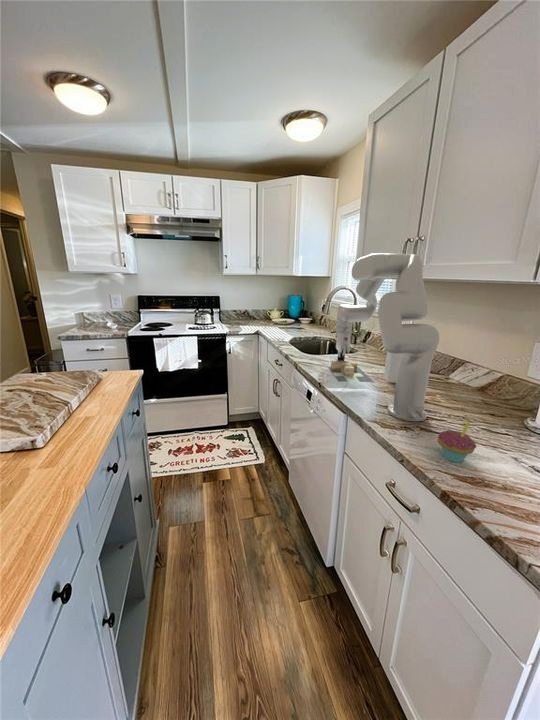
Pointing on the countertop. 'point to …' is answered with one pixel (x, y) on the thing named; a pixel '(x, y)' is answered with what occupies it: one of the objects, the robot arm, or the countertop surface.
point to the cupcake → (456, 444)
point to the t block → (344, 367)
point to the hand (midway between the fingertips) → (340, 364)
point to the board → (358, 376)
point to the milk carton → (392, 366)
